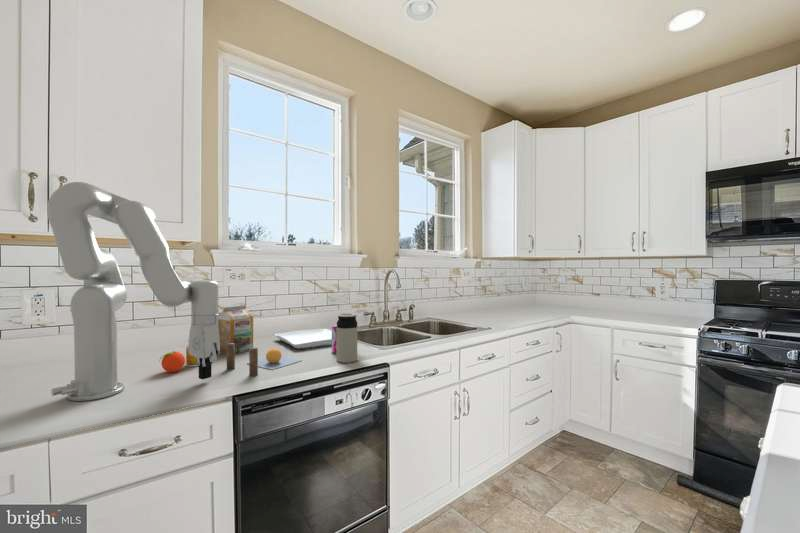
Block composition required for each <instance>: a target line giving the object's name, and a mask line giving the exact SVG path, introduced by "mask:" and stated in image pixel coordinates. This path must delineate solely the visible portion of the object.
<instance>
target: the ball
mask: <svg viewBox="0 0 800 533" xmlns="http://www.w3.org/2000/svg"><path fill="white" fill-rule="evenodd" d="M281 356H282V352H281V350H279V349H278V348H276V347H275V348H271V349H269V350H267V352H266V354H265V358H266V359H267V361H268V362H269V363H277V362H279V361H280V359H281Z"/></svg>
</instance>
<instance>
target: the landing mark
mask: <svg viewBox="0 0 800 533" xmlns="http://www.w3.org/2000/svg"><path fill="white" fill-rule="evenodd" d="M302 361H303V360H301V359H297V358H292V357H287V356H282V355H281V359H280V361H279V362H277V363H269V362H268V361H267V359H266V357H265V358H262V359H258V368H261V369H265V368H266V370H271V371H274V370H277V369H280V367H281V368H283V367H287V366H290V365H293V363H294V364H297V363H300V362H302ZM296 362H297V363H296ZM246 365H249V362H247V363H246Z"/></svg>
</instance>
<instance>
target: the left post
mask: <svg viewBox="0 0 800 533" xmlns="http://www.w3.org/2000/svg"><path fill="white" fill-rule="evenodd" d="M235 357H236V354H235V343H228V344H227V354H226V370H227V371H234V370H235V368H236V366H235V364H236V358H235Z"/></svg>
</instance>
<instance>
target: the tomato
mask: <svg viewBox="0 0 800 533" xmlns="http://www.w3.org/2000/svg"><path fill="white" fill-rule="evenodd" d="M160 360H161V368H162V369H163V370H164V371H166V372H167V373H176V372H178V371H180V370H181V369H182V368H183V367H184V366H185V365H186V357H185V356H184V354H183V353H181V352H179V351H174V350H173V351H170V352H167V353H164V354H163V355H162V356H161V357H160V358H159V360H158V362H160Z"/></svg>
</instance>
